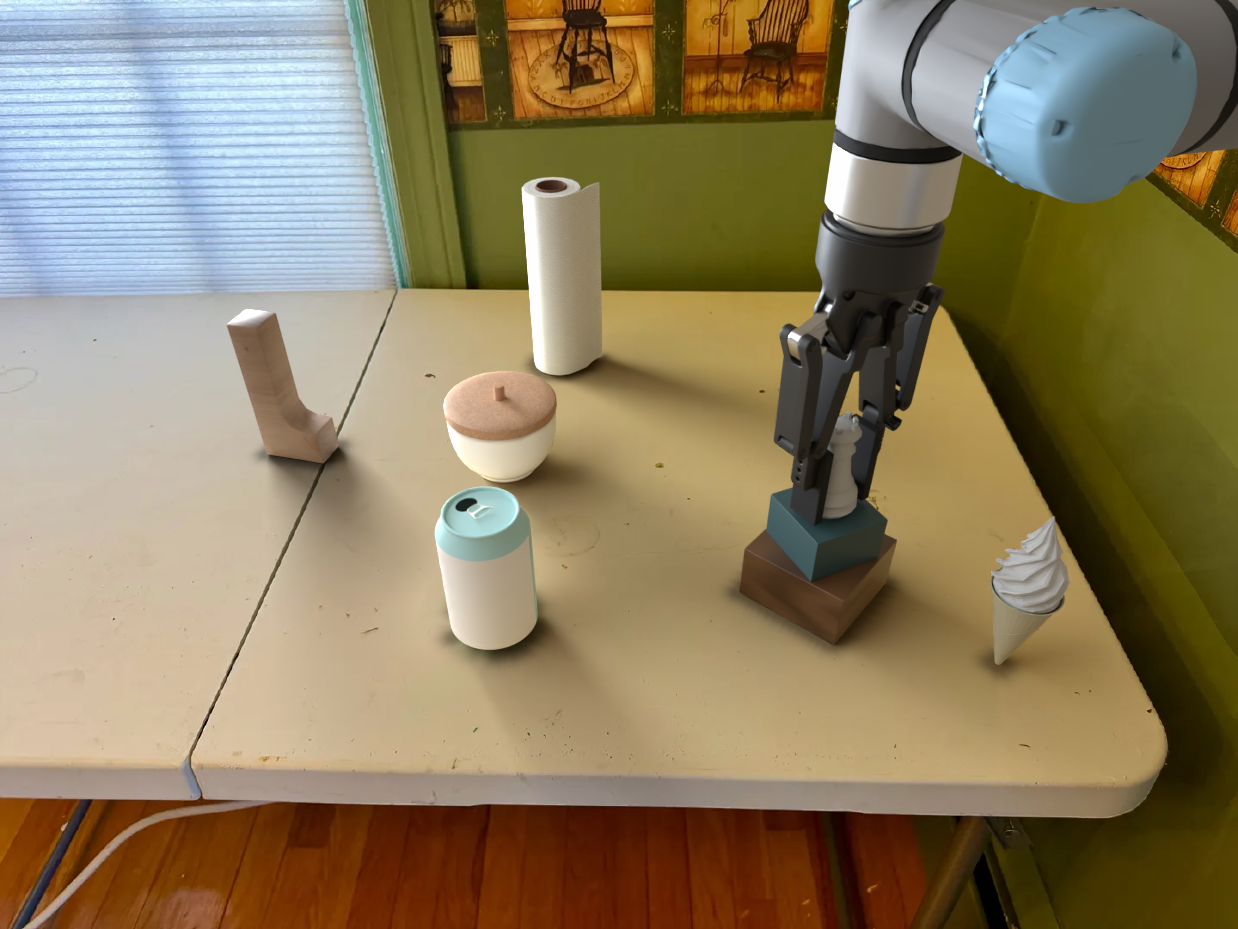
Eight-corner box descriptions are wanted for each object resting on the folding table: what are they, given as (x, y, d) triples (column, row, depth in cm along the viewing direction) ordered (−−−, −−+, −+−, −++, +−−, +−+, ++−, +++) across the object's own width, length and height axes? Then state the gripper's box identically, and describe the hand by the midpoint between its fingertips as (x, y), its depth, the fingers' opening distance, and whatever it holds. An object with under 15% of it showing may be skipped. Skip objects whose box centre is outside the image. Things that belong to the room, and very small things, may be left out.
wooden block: (266, 454, 89) (224, 324, 80) (283, 436, 91) (245, 307, 82) (323, 464, 88) (289, 332, 78) (340, 445, 90) (308, 315, 81)
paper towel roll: (526, 371, 102) (511, 191, 89) (547, 346, 106) (536, 171, 93) (583, 382, 100) (576, 200, 87) (602, 357, 104) (599, 179, 91)
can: (443, 654, 68) (421, 541, 61) (460, 589, 74) (442, 478, 67) (532, 657, 68) (521, 544, 61) (543, 591, 74) (534, 481, 66)
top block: (878, 557, 70) (888, 520, 67) (810, 582, 67) (817, 544, 65) (830, 509, 74) (837, 472, 72) (765, 531, 72) (770, 493, 70)
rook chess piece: (852, 486, 70) (868, 403, 65) (859, 523, 66) (876, 438, 62) (796, 483, 70) (807, 401, 65) (800, 520, 67) (812, 436, 62)
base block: (886, 583, 74) (897, 539, 71) (833, 645, 69) (843, 601, 66) (794, 537, 79) (801, 494, 76) (739, 592, 74) (743, 548, 70)
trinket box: (439, 493, 84) (426, 413, 78) (468, 429, 92) (457, 352, 87) (549, 502, 83) (544, 421, 77) (567, 436, 91) (564, 359, 86)
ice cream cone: (960, 633, 70) (1010, 488, 61) (1027, 643, 69) (1088, 497, 60) (966, 683, 66) (1022, 536, 57) (1037, 694, 65) (1105, 546, 56)
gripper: (928, 168, 60) (870, 441, 75) (736, 225, 52) (712, 518, 67) (1023, 201, 55) (941, 486, 70) (826, 270, 48) (779, 575, 62)
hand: (829, 501), depth 68 cm, fingers closed on rook chess piece, 4 cm apart
